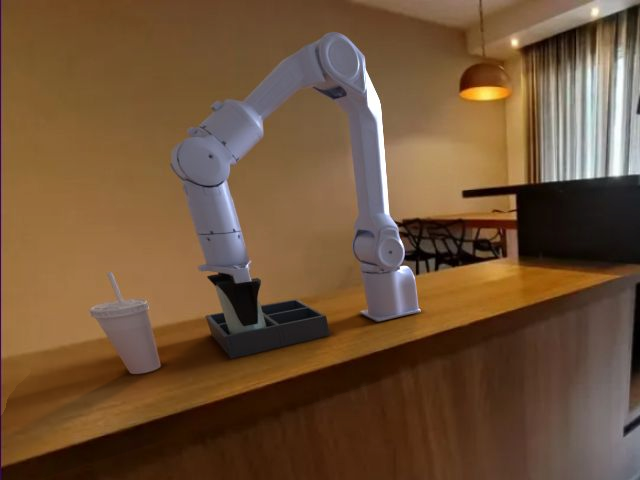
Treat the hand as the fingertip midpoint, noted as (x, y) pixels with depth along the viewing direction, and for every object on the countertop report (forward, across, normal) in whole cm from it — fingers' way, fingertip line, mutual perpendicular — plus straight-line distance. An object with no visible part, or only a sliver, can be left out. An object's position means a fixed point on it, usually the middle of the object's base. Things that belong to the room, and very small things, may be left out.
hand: (245, 320), depth 71 cm
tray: (+4, -4, +4) cm, 7 cm away
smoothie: (+4, -1, -14) cm, 15 cm away
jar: (+2, 0, 0) cm, 2 cm away
